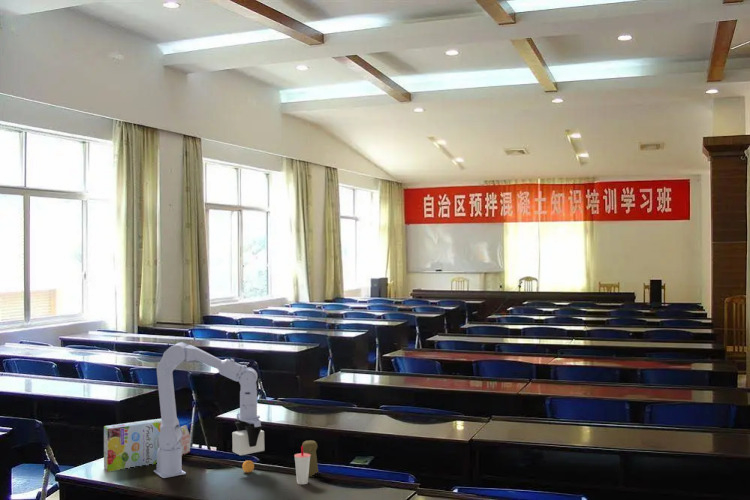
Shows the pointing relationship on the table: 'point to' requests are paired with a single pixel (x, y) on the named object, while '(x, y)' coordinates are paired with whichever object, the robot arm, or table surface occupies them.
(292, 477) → the table surface
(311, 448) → the cork
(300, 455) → the cup
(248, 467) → the ball
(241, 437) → the cover
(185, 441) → the tea bag
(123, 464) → the snack box
